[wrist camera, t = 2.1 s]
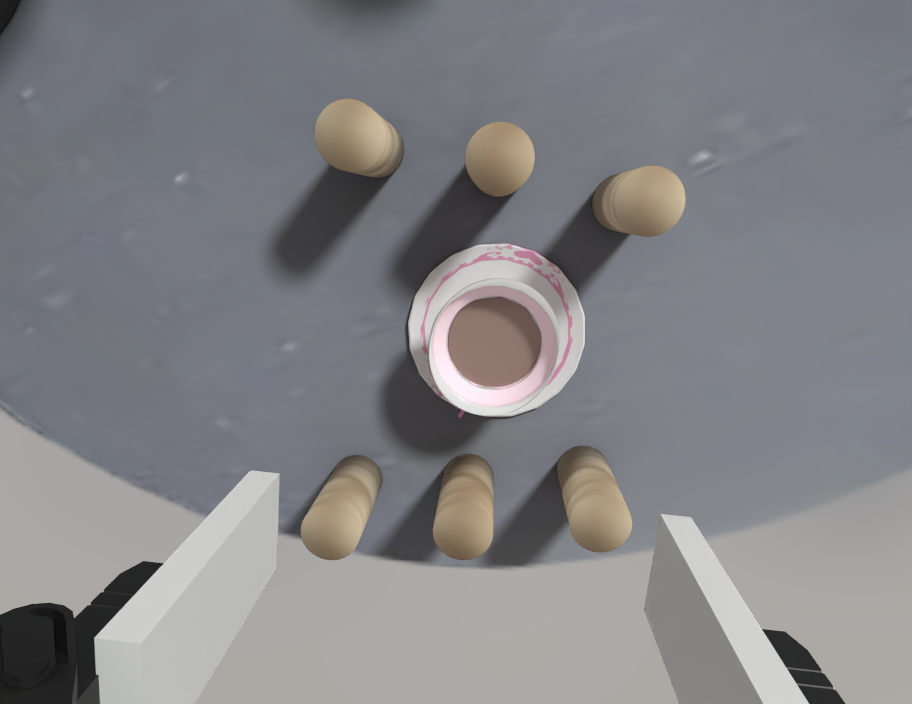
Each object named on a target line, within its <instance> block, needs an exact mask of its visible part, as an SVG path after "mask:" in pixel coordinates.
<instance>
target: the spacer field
mask: <svg viewBox="0 0 912 704" xmlns="http://www.w3.org/2000/svg"><path fill="white" fill-rule="evenodd" d="M315 142H316V145H317V148H318V151H319V152H320V154H321V156H322V157H323V158H324V159H325V160H326V162H328V163H329V164H330V165H332V166H333V167H335V168H337V169H340V170H344V171H348V172H352V173H356V174H360V175H364V176H368V177H372V178H382V177H386V176H388V175H390V174H392V173H393V172H394V171H395V170H396V169H397V168H398V167H399V166H400V164H401V162H402V159H403V155H404V144H403V140H402V137H401V135H400V133H399V132H398V131H397V129H396V128H395V127H393V126H392V125H391V124H390V123H389V122H387V121H386V120H385V119H384V118H382V117H381V116H380V115H379V114H377V113H376V112H375V111H374V110H372V109H371V108H370V107H369V106H367V105H366V104H364V103H363V102H360V101H358V100H354V99H341V100H337V101H335V102H333V103H331V104H329V105H328V106H327V107H326V108H325V109H324V110H323V111H322V112H321V114H320V115H319V117H318V119H317V122H316V126H315ZM465 161H466V168H467V171H468V174H469V176H470V177H471V179H472V180H473V182H474V183H475V184H476V185H477V187H478V188H479V189H480V190H481V191H483V192H484V193H486V194H488V195H490V196H495V197H502V196H507V195H509V194H511V193H513V192H515V191H516V190H517V189H518V188H520V187H521V186H522V185H523V184H524V183H525V182H526V181H527V179H528V178H529V176H530V175H531V172H532V170H533V167H534V161H535V154H534V148H533V145H532V142H531V140H530V138H529V137H528V136H527V134H526V133H525V132H524V131H523V130H522V129H520V128H519V127H517V126H515V125H513V124H510V123H506V122H495V123H491V124H488V125H486V126H484V127H482V128H481V129H479V130H478V131H477V132H476V133H475V134H474V135H473V137H472V138H471V140H470V142H469V144H468V146H467V150H466V155H465ZM684 207H685V191H684V188H683V185H682V183H681V181H680V180H679V178H678V177H677V176H676V175H675V174H674V173H673V172H671V171H670V170H668V169H666V168H663V167H660V166H645V167H641V168H638V169H634V170H631V171H627V172H624V173H620V174H616V175H613V176H610V177H608V178H607V179H605V180H604V181H603V182H602V183H601V184H600V185H599V186H598V187H597V189H596V191H595V193H594V196H593V200H592V208H593V213H594V215H595V217H596V219H597V221H598V222H599V223H600V224H601V225H602V226H603V227H605V228H607V229H609V230H612V231H617V232H622V233H628V234H633V235H638V236H644V237H651V236H657V235H660V234H663V233H665V232H667V231H668V230H669V229H671V228H672V227H673V226H674V225H675V224H676V223H677V222H678V220H679V219H680V217H681V215H682V213H683V210H684ZM557 475H558V479H559V483H560V487H561V492H562V496H563V500H564V504H565V509H566V513H567V517H568V522H569V526H570V530H571V533H572V536H573V538H574V539H575V541H576V542H577V543H578V544H579V545H580V546H582V547H583V548H585V549H587V550H590V551H593V552H608V551H611V550H614V549H616V548H618V547H619V546H621V545H622V544H623V543H624V542H625V541H626V540H627V538H628V537H629V535H630V532H631V529H632V519H631V515H630V513H629V510H628V508H627V506H626V504H625V501H624V499H623V497H622V494H621V492H620V490H619V488H618V485H617V483H616V481H615V479H614V476H613V474H612V472H611V470H610V467H609V465H608V463H607V461H606V459H605V457H604V456H603V454H602V453H601V452H599V451H598V450H597V449H595V448H592V447H589V446H577V447H574V448H571V449H569V450H568V451H566V452H565V453H564V454H563V455H562V457H561V458H560V460H559V462H558V465H557ZM381 485H382V474H381V471H380V469H379V467H378V466H377V464H376V463H375V462H373V461H372V460H371V459H369V458H367V457H364V456H360V455H353V456H349V457H346V458H344V459H343V460H341V461H340V462H339V463H338V464H337V466H336V468H335V469H334V471H333V472H332V474H331V476H330V477H329V479H328V481H327V482H326V484H325V485H324V487H323V489H322V490H321V492H320V494H319V495H318V497H317V498H316V500H315V502H314V503H313V505H312V507H311V508H310V510H309V511H308V513H307V515H306V516H305V518H304V520H303V522H302V525H301V537H302V540H303V543H304V544H305V546H306V547H307V549H308V550H309V551H310V552H311V553H313V554H314V555H316V556H318V557H320V558H322V559H327V560H338V559H342V558H344V557H347V556H348V555H350V554H351V553H352V552H353V551H354V550H355V548H356V547H357V544H358V542H359V540H360V537H361V535H362V532H363V530H364V527H365V525H366V523H367V520H368V518H369V515H370V513H371V510H372V508H373V505H374V503H375V501H376V498H377V496H378V493H379V491H380V488H381ZM433 537H434V541H435V543H436V545H437V546H438V548H439V549H440V550H441V551H442V552H443V553H444V554H446V555H447V556H449V557H451V558H454V559H458V560H469V559H473V558H476V557H478V556H480V555H482V554H483V553H484V552H485V551H486V550H487V549H488V548H489V546H490V544H491V542H492V539H493V471H492V469H491V467H490V465H489V464H488V463H487V462H486V460H484V459H483V458H481V457H479V456H477V455H474V454H462V455H459V456H457V457H455V458H453V459H452V460H451V461H450V462H449V463H448V464H447V466H446V468H445V470H444V475H443V480H442V485H441V490H440V495H439V500H438V505H437V511H436V516H435V521H434V526H433Z"/></svg>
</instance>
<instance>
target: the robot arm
mask: <svg viewBox="0 0 912 704" xmlns="http://www.w3.org/2000/svg"><path fill="white" fill-rule="evenodd" d="M17 3H18V0H0V31H1V29H2V28H3V27H4V26H5V24H6V23H7V21H8V20H9V18H10V17H11V15H12V13H13V11H14V9H15V7H16V5H17ZM278 506H279V473H269V472H260V471H250V472H249V473H248V474H247V475H246V476H245V477H244V478H243V479H242V480H241V481H240V482H239V483H238V484H237V486H236V487H235V488H234V489H233V490H232V491H231V492H230V493H229V494H228V495H227V496H226V497H225V498H224V499H223V501H222V502H221V503H220V504H219V505H218V506H217V507H216V508H215V509H214V510H213V511H212V512H211V513H210V514H209V516H208V517H207V518H206V519H205V520H204V521H203V522H202V523H201V524H200V525H199V526H198V527H197V528H196V529H195V531H194V532H193V533H192V534H191V535H190V536H189V537H188V538H187V539H186V540H185V541H184V542H183V544H181V546H180V547H179V548H178V549H177V550H176V551H175V552H174V553H173V554H172V555H171V556H170V557H169V559H168V560H167V561H166V562H165V563H154V562H145V561H143V562H141V563H139V564H138V565H136V566H134V567H132V568H130V569H128V570H126V571H124V572H123V573H121V574H120V575H118V577H116V578H115V579H114V580H113V581H112V582H111V583H110V584H109V585H108V586H107V587H106V588H105V589H104V592H103V593H100V594H99V595H98V596H97V597H96V598H95V599H94V600H93V601H92V602H91V605H90V606H89V605H88V606H87V607H86V608H85V609H84V610H83V611H82V612H81V613H79V614H78V615H77V616H76V618H74V617H73V612H72V611H71V610H70V609H68V608H67V607H65V606H63V605H58V604H53V603H41V604H31V605H27V606H23V607H19V608H15V609H12V610H10V611H8V612H6V613H4V614H1V615H0V704H195V702H196V700H197V699H198V697H199V696H200V694H201V692H202V691H203V689H204V687H205V686H206V684H207V682H208V681H209V679H210V678H211V676H212V674H213V673H214V671H215V669H216V668H217V666H218V664H219V663H220V661H221V659H222V658H223V656H224V654H225V653H226V651H227V649H228V648H229V646H230V645H231V643H232V641H233V639H234V638H235V636H236V635H237V633H238V631H239V630H240V628H241V626H242V625H243V623H244V622H245V620H246V618H247V617H248V615H249V613H250V612H251V610H252V608H253V607H254V605H255V603H256V602H257V600H258V598H259V597H260V595H261V593H262V592H263V590H264V588H265V587H266V585H267V584H268V582H269V580H270V579H271V577H272V575H273V574H274V572H275V570H276V569H277V545H278ZM644 610H645V613H646V616H647V618H648V621H649V624H650V626H651V629H652V632H653V635H654V637H655V640H656V643H657V645H658V648H659V651H660V653H661V656H662V658H663V661H664V664H665V667H666V669H667V672H668V675H669V677H670V680H671V683H672V686H673V688H674V691H675V694H676V696H677V699H678V702H679V704H845V703H844V701H843V700H842V698H841V697H840V695H839V694H838V693H837V691H836V690H833V686H832V684H831V683H830V681H829V680H828V678H827V677H826V676H825V674H823V673H821V669H820V667H819V666H818V664H817V663H816V662H815V660H814V659H813V657H812V656H811V654H810V653H809V652H808V650H807V649H805V648H804V647H803V646H801V644H799V643H798V642H797V641H796V640H794V639H793V638H792V637H791V636H790V635H788V634H787V633H786V632H782V631H773V630H764V629H761V627H760V626H759V624H758V622H757V621H756V619H755V618H754V616H753V614H752V613H751V611H750V610H749V608H748V607H747V605H746V603H745V602H744V600H743V599H742V597H741V596H740V594H739V592H738V591H737V589H736V588H735V586H734V585H733V583H732V581H731V580H730V578H729V577H728V575H727V573H726V572H725V570H724V569H723V567H722V566H721V564H720V562H719V561H718V559H717V558H716V556H715V555H714V553H713V551H712V550H711V548H710V547H709V545H708V544H707V542H706V540H705V539H704V537H703V536H702V534H701V532H700V531H699V529H698V528H697V526H696V525H695V523H694V521H693V520H692V518H691V517H683V516H674V515H664V514H661V515H660V520H659V526H658V532H657V538H656V543H655V549H654V555H653V561H652V567H651V573H650V578H649V584H648V590H647V596H646V601H645V608H644Z"/></svg>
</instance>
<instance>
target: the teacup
mask: <svg viewBox="0 0 912 704" xmlns="http://www.w3.org/2000/svg"><path fill="white" fill-rule="evenodd" d="M408 329H409V344H410V351H411V354H412V356H413V359H414V361H415V364H416V366H417V369H418V371H419V374H420V375H421V376H422V378H423V379H424V380H425V381H426V382H427V384H428V385H429V386H430V387H431V389H432V390H433V391H434V392H435V393H436V395H438V396H439V397H441V398H442V399H444V400H445V401H447V402H448V403H450V404H451V405H453V406H455V407H456V408H458V410H460V412H459V415H458V418H461V417H462V415H463V414H464V413H466V412H469V413H472V414H476V415H480V416H484V417H502V416H515V415H517V414H520V413H523V412H526V411H529V410H532V409H535V408H538V407H540V406H541V405H542V404H544V403H545V402H546V401H548V400H549V399H551V398H552V397H553V396H555V395H556V394H557V393H559V392H560V391H561V390H562V388H563V387H564V386H565V384H566V383H567V381H568V380H569V379H570V377H571V376H572V375H573V373H574V372H575V371H576V369H577V366H578V363H579V360H580V357H581V354H582V351H583V348H584V344H585V315H584V313H583V310H582V307H581V304H580V301H579V298H578V295H577V292H576V289H575V288H574V287H573V285H572V284H571V283H570V282H569V280H568V279H567V278H566V276H565V275H564V274H563V272H562V271H561V270H560V268H559V267H558V266H556V265H555V264H553V263H552V262H550V261H549V260H547V259H546V258H544V257H543V256H541V255H540V254H538V253H537V252H535V251H533V250H529V249H526V248H522V247H519V246H515V245H511V244H508V243H504V244H481V245H476V246H474V247H471V248H468V249H466V250H463V251H461V252H458V253H455V254H453V255H451V256H450V257H449V258H447V259H446V260H445V261H444V262H443V263H441V264H440V265H439V266H438V267H436V268H435V269H434V270H433V271H431V272H430V273H429V275H428V277H427V278H426V280H425V281H424V283H423V284H422V286H421V287H420V289H419V291H418V292H417V294H416V295H415V298H414V302H413V306H412V309H411V313H410V317H409V321H408Z"/></svg>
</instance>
